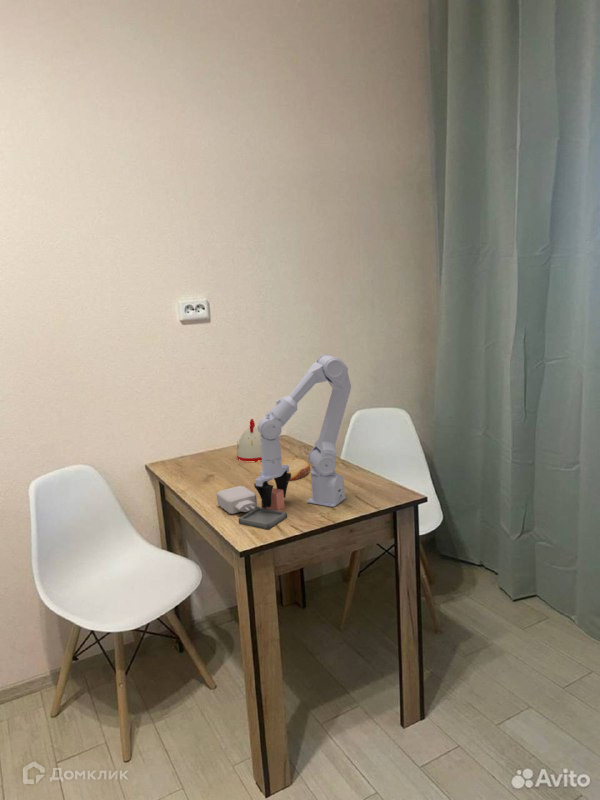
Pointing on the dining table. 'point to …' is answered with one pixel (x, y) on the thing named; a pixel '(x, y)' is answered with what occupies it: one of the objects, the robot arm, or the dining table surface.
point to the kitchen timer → (249, 444)
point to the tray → (262, 518)
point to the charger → (237, 499)
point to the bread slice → (296, 468)
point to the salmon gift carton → (277, 499)
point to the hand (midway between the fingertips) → (274, 501)
